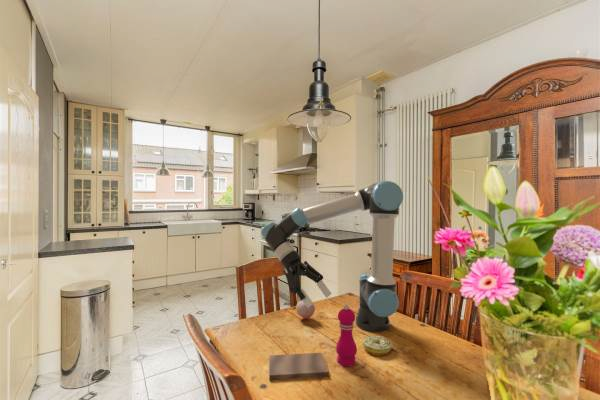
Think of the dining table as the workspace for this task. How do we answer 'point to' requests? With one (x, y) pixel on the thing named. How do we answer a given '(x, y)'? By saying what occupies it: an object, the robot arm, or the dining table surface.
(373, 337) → the decorated donut
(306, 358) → the walnut stand
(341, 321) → the pepper mill
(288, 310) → the dining table surface
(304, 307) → the decorative fruit
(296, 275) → the robot arm
